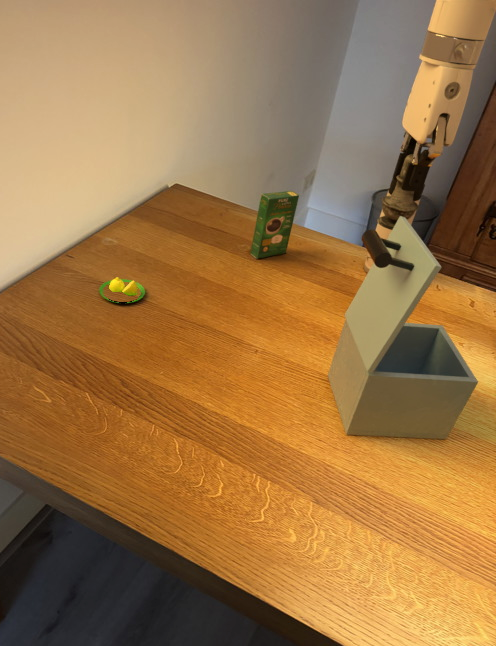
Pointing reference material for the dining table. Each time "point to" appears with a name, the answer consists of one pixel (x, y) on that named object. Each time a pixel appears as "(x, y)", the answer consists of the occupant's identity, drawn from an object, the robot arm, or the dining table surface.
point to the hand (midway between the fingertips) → (406, 183)
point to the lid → (389, 289)
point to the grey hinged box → (402, 385)
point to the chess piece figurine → (398, 202)
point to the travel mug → (386, 232)
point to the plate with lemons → (123, 288)
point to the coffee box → (274, 223)
